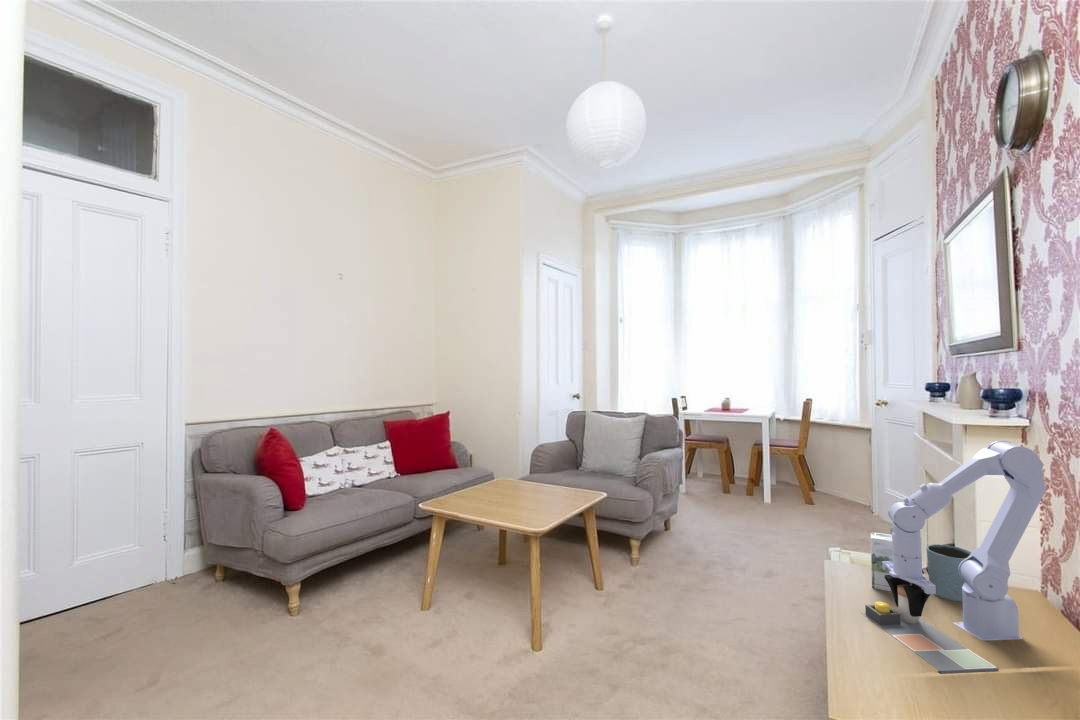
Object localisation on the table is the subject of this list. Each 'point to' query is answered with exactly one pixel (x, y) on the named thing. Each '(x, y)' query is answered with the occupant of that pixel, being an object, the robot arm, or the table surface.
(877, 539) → the syrup box
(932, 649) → the colouring board
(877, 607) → the button
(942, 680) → the table surface
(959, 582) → the teal plant pot
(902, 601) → the white cylinder
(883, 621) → the button housing
